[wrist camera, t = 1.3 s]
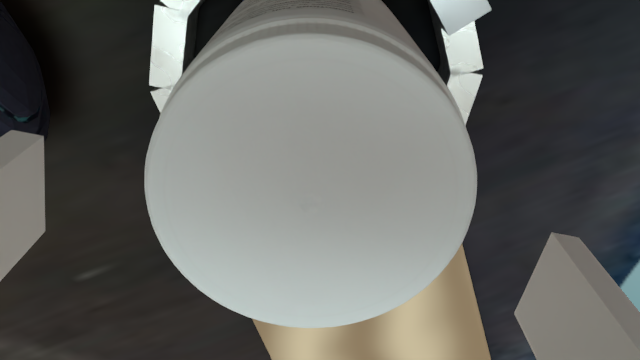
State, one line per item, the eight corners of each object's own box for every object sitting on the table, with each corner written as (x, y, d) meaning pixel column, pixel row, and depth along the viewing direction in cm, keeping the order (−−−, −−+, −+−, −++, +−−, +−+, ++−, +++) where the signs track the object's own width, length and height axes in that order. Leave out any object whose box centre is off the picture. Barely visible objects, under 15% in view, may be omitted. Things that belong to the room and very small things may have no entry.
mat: (450, 202, 31) (453, 207, 31) (492, 370, 37) (495, 377, 37) (228, 262, 33) (227, 268, 33) (302, 413, 39) (301, 420, 39)
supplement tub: (196, 105, 29) (86, 266, 16) (266, -69, 25) (198, -51, 12) (355, 177, 31) (377, 375, 17) (444, 24, 27) (557, 130, 14)
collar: (439, -159, 23) (459, -172, 20) (499, 152, 30) (523, 185, 26) (102, -33, 26) (66, -24, 22) (226, 229, 32) (213, 269, 29)
